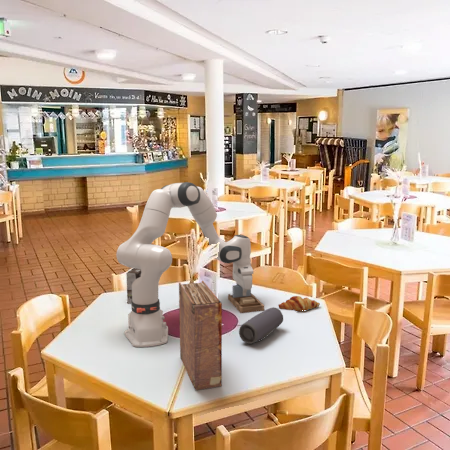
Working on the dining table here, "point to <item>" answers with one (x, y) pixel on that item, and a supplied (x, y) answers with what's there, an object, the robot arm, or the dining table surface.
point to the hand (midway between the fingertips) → (241, 293)
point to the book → (201, 335)
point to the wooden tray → (246, 307)
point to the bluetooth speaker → (260, 325)
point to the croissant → (298, 304)
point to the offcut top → (247, 300)
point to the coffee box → (131, 281)
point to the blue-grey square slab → (239, 291)
